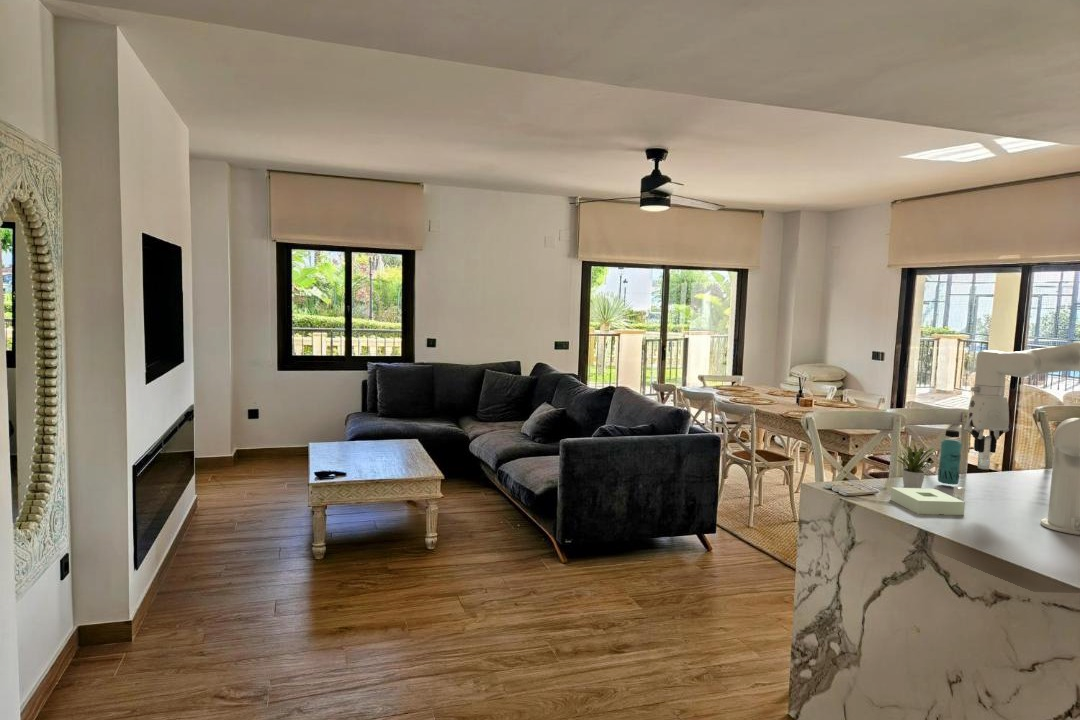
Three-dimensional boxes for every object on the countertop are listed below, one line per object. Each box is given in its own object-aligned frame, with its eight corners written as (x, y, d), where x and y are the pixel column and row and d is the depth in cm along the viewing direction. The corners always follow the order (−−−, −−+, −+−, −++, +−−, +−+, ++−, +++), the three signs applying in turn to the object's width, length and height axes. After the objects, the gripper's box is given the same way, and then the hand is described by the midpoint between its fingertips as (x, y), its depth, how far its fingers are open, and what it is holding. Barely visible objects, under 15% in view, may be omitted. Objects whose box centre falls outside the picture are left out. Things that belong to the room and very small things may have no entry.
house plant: (950, 493, 223) (954, 445, 222) (921, 496, 218) (924, 447, 217) (912, 482, 237) (916, 437, 235) (884, 485, 231) (887, 439, 230)
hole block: (963, 515, 198) (964, 502, 198) (917, 513, 198) (918, 500, 197) (933, 500, 213) (934, 488, 213) (890, 499, 213) (891, 487, 212)
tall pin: (991, 469, 199) (994, 436, 198) (981, 469, 199) (984, 436, 198) (984, 467, 202) (987, 434, 201) (975, 466, 202) (977, 434, 201)
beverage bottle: (932, 484, 235) (936, 428, 233) (946, 483, 237) (951, 428, 235) (948, 489, 228) (953, 432, 227) (963, 488, 230) (968, 431, 229)
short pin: (965, 504, 210) (967, 489, 210) (956, 504, 210) (957, 488, 210) (959, 501, 213) (960, 486, 213) (950, 501, 213) (951, 486, 213)
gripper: (970, 392, 195) (966, 453, 196) (1025, 393, 195) (1020, 455, 196) (954, 389, 202) (950, 448, 204) (1007, 390, 203) (1002, 449, 204)
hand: (984, 451), depth 200 cm, fingers closed on tall pin, 3 cm apart
